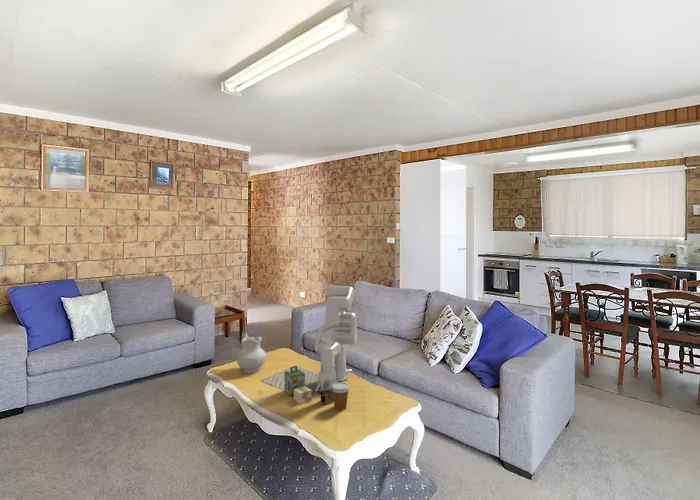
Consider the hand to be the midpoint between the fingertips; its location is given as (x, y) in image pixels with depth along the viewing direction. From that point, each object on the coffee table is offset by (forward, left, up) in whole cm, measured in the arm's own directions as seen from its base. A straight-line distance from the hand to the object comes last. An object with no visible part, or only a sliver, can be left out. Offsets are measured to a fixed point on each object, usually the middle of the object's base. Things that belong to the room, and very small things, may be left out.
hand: (327, 400), depth 212 cm
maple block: (+10, -10, -1) cm, 14 cm away
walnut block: (0, 0, -1) cm, 1 cm away
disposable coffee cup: (-1, +10, -1) cm, 10 cm away
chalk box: (+8, -22, -1) cm, 24 cm away
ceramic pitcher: (+14, -71, -1) cm, 72 cm away
